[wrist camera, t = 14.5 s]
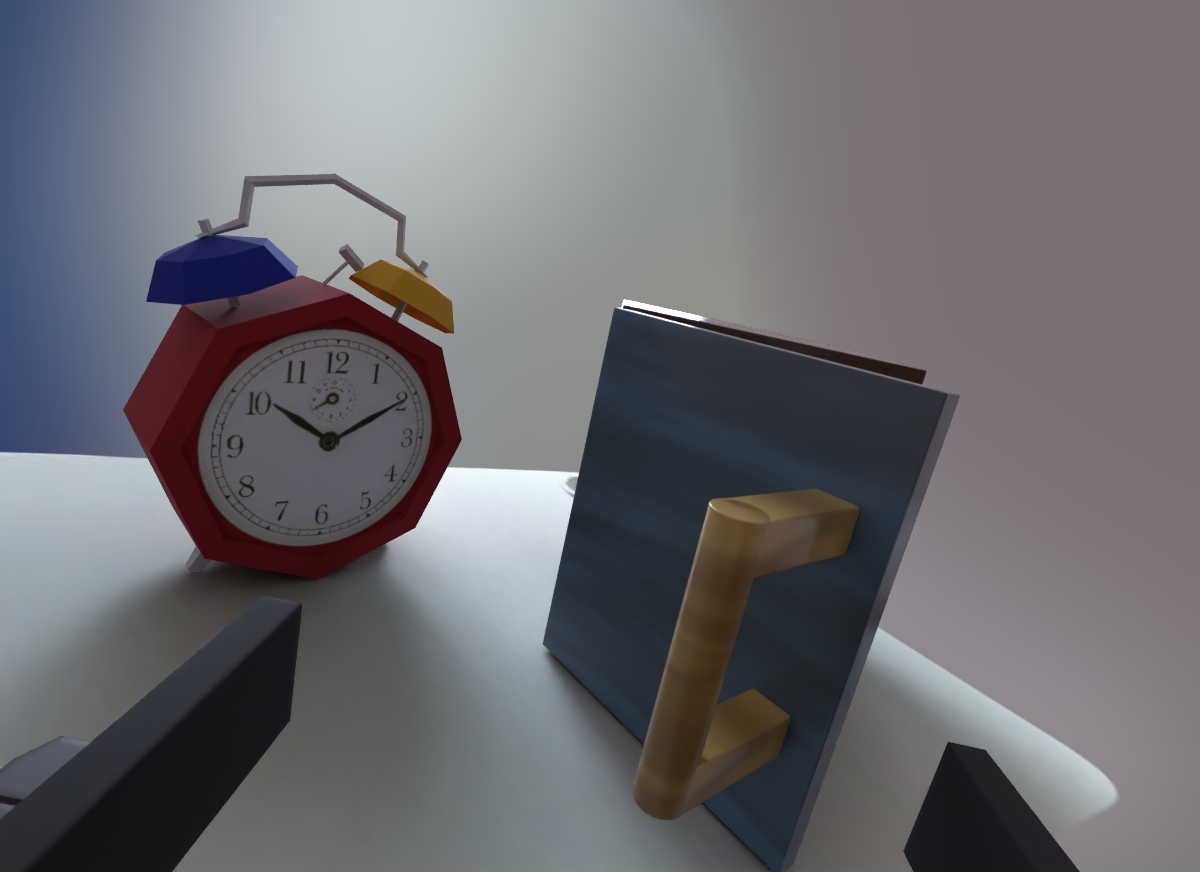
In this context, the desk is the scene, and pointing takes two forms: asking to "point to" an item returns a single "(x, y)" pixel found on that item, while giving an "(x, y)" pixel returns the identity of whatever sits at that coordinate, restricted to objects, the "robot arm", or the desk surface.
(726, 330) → the cupboard
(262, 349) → the alarm clock
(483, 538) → the desk surface
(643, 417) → the door
